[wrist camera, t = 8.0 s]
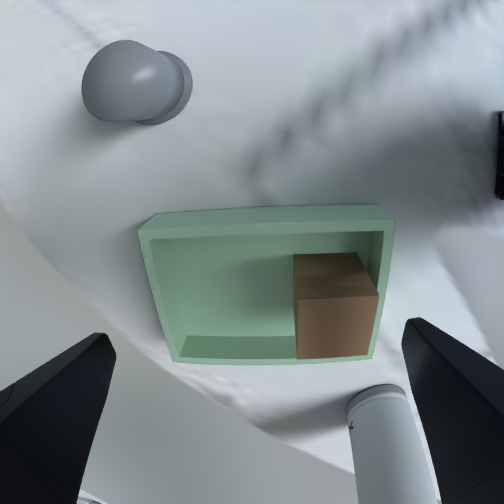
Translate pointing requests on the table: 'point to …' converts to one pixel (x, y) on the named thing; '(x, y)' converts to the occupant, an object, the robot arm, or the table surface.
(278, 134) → the table surface
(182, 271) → the parts tray
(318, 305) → the walnut block
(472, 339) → the table surface
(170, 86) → the grey domed knob
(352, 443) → the travel mug
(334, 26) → the table surface
